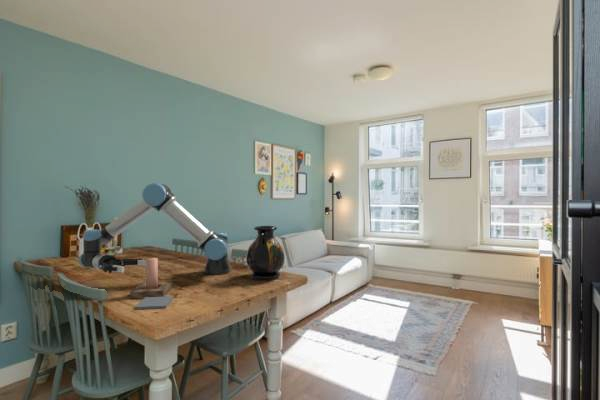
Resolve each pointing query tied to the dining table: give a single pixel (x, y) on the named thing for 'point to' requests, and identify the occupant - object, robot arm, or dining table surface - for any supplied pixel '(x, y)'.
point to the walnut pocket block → (151, 290)
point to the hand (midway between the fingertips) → (136, 266)
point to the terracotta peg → (152, 273)
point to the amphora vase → (265, 255)
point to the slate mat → (154, 302)
